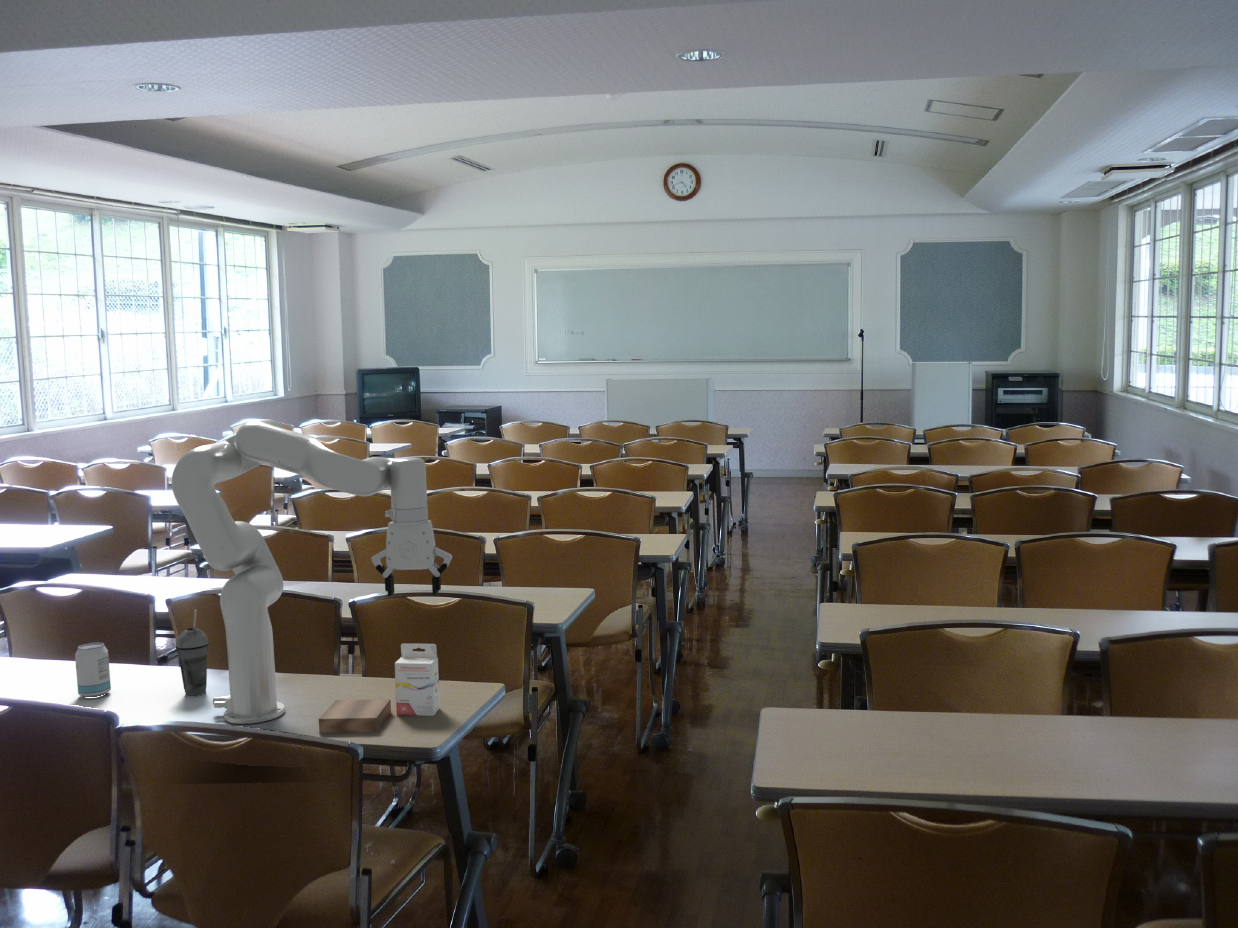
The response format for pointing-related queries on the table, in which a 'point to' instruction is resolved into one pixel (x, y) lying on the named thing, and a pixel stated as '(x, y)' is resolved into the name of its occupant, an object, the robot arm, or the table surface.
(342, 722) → the walnut base plate
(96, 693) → the beverage can
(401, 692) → the ink cartridge box
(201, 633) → the beverage cup
